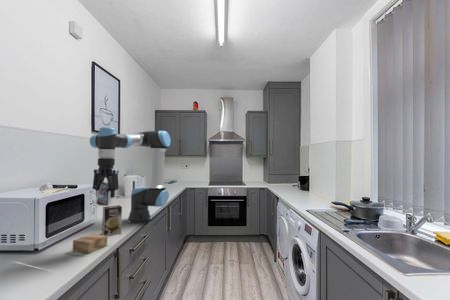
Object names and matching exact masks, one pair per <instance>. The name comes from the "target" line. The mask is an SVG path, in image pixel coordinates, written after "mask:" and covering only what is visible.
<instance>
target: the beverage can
mask: <svg viewBox="0 0 450 300" xmlns="http://www.w3.org/2000/svg"><path fill="white" fill-rule="evenodd" d="M109 190H110V189H109V185H108V181H104V182H102V183H101V185H100V189H99V194H98V199H97V204H96V205H97V206H99V207H108V206H109V205H108V191H109Z"/></svg>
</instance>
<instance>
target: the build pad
mask: <svg viewBox="0 0 450 300" xmlns="http://www.w3.org/2000/svg"><path fill="white" fill-rule="evenodd" d="M113 246H114V245H113V244H109V243H107V246H106V247H104V248H102V249H99V250H97V251H95V252H93V253H90V254H84V253H79V252H74V251H73V249H71V250H67V251H66V252H65V254H70V255H71V254H72V255H76V256H80V257H87V258H89V257H91V256H93V255H96V254H97V253H100V252H102V251H105V250H106V249H108V248H111V247H113Z"/></svg>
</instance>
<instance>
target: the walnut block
mask: <svg viewBox="0 0 450 300" xmlns="http://www.w3.org/2000/svg"><path fill="white" fill-rule="evenodd" d="M107 244H108V236H104V235H102V234H96V233H91V234H88V235H85V236H82V237H79V238H77V239H73V240H72V250H73V251H74V252H79V253H84V254H90V253H93V252H95V251H97V250H99V249H102V248H104V247H106V246H107Z"/></svg>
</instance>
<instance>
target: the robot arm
mask: <svg viewBox="0 0 450 300" xmlns="http://www.w3.org/2000/svg"><path fill="white" fill-rule="evenodd" d="M98 129H99V130H98V134H93V135H91V136H90V138H89V144H90V146H91V147H92V148H94V149H98V150H97V151H98V152H97V166H98V169H93V181H92V190H95V197H96V202H95V203H96V205H98V204H97V199H98V194H99V189H100V185H101V183H102V182H105V179H106V180H107V181H106V182H108V185H109V189H110V190H109V191H108V206H112V205H113V204H114V203H115V197H116V196H115V195H116V191H117V190H119V172H120V171H119V169H115V168H114V166H115V164H116V163H115V160H116V159H115V157H116V148H117V149H118V148H120V149H121V148H122V149H128V148H130V147H131V146H134V147H145V148H147V147H148V148H150V150H151V154H152V155H151V177H150V178H151V179H150V180H151V181H150V186H149V187H148V186H145V187H139V188H138V187H136V188H133V189H132V190H131V191H130V192H131V193H130V200H131V201H130V212H129V213H128V214H129V215H128V219H127V222H128V221H130V222H129V223H131V222H141V223H146V222H149V221H151V214H150V210H149V207H156V208H160V207H162V208H163V207H164V206H165V205H167V203H168V200H169V195H170V193H169V191H168V190H167V189H166V186H165V161H166V160H165V156H166V154H165V153H166V152H167V150H168V147H170V146H171V142H172V141H171V136H170V134H169V133H168V132H167V131H166V130H151V131H150V130H149V131H142V132H134V133H131V134H130V133H128V134H127V133H125V134H123V133H117V132H116V128H114V127H107V126H106V127H105V126H104V127H103V126H102V127H100V128H98Z"/></svg>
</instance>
